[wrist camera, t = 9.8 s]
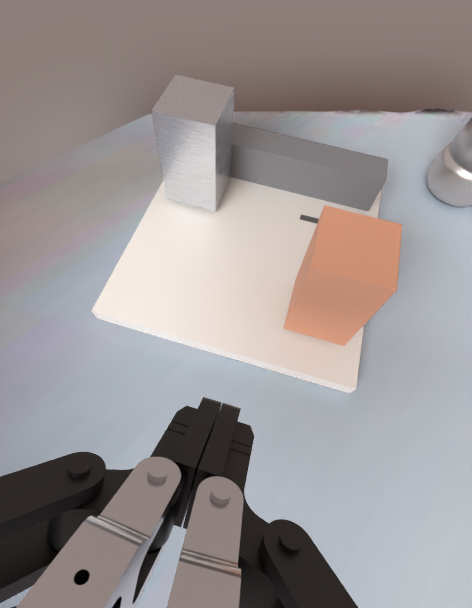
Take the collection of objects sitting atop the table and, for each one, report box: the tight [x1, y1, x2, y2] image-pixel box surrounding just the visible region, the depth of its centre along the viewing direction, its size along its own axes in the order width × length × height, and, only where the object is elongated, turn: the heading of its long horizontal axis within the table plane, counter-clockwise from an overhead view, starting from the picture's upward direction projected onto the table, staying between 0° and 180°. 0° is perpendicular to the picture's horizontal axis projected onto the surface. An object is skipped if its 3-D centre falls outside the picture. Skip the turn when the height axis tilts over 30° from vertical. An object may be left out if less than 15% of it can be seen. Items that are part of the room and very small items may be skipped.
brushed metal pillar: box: [152, 75, 235, 212], centre depth 31 cm, size 5×5×9 cm
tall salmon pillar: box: [283, 205, 402, 346], centre depth 25 cm, size 5×5×9 cm
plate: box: [92, 123, 388, 393], centre depth 31 cm, size 22×22×6 cm
